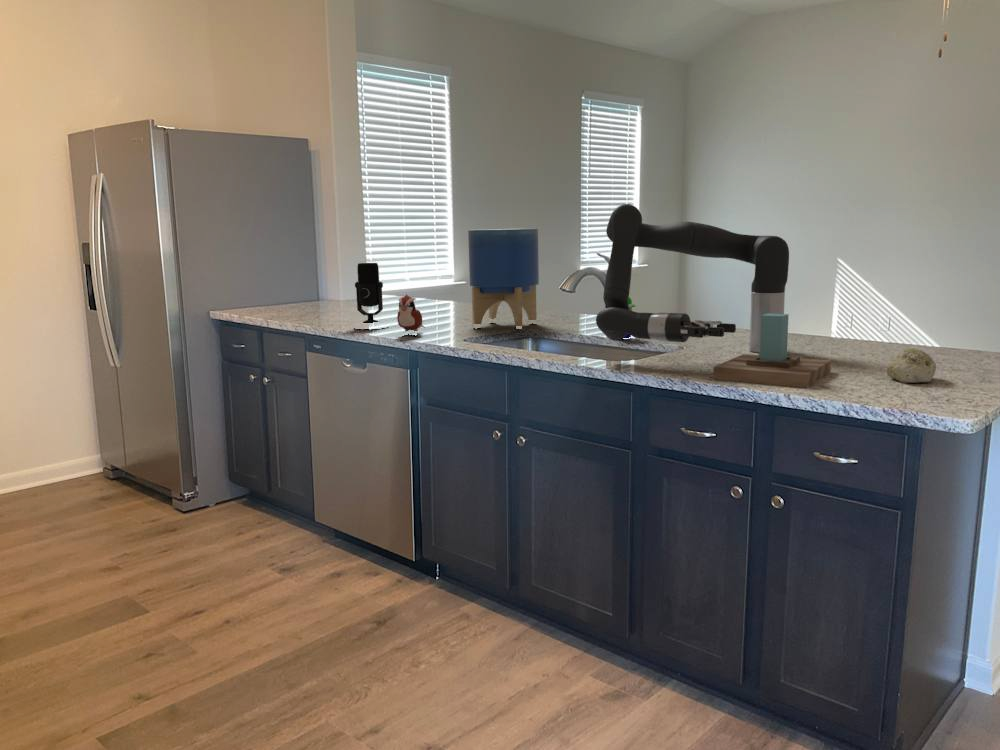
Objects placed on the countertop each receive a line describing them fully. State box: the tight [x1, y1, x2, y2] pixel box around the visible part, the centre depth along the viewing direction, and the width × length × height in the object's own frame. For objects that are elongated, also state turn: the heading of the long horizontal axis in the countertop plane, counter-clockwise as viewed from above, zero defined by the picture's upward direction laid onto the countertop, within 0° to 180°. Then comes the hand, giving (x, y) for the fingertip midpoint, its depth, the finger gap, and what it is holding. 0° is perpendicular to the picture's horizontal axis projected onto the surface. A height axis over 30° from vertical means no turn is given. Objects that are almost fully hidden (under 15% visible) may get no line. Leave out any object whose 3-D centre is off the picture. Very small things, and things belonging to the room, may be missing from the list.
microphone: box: [354, 262, 384, 323], centre depth 312 cm, size 14×14×25 cm
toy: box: [396, 294, 426, 332], centre depth 288 cm, size 9×16×15 cm, turn 166°
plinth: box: [712, 353, 832, 388], centre depth 198 cm, size 22×22×4 cm
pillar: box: [759, 313, 789, 362], centre depth 197 cm, size 5×5×12 cm
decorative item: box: [885, 348, 937, 384], centre depth 189 cm, size 12×9×10 cm
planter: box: [467, 227, 540, 327], centre depth 305 cm, size 26×26×37 cm
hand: (729, 330), depth 203 cm, fingers open, 8 cm apart
